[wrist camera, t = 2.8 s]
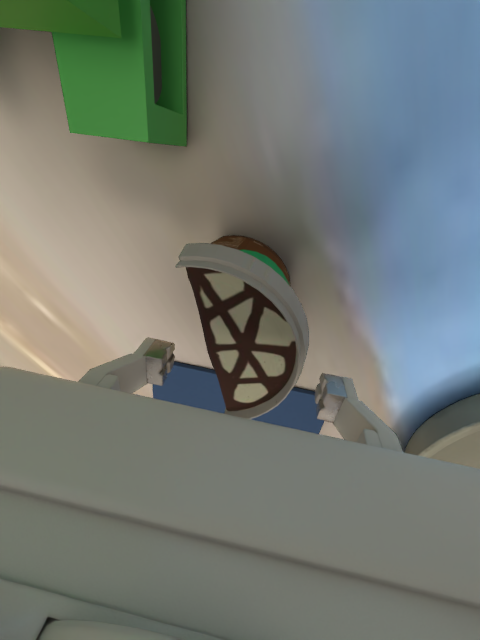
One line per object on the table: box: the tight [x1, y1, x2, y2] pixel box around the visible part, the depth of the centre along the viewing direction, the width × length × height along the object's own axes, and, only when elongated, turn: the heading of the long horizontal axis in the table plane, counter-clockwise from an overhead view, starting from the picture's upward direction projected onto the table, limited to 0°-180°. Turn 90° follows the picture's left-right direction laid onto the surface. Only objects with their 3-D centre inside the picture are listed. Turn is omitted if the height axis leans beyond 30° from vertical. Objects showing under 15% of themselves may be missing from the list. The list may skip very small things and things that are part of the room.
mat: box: [153, 362, 324, 434], centre depth 33 cm, size 20×14×1 cm
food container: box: [176, 235, 309, 419], centre depth 20 cm, size 12×6×10 cm, turn 10°
